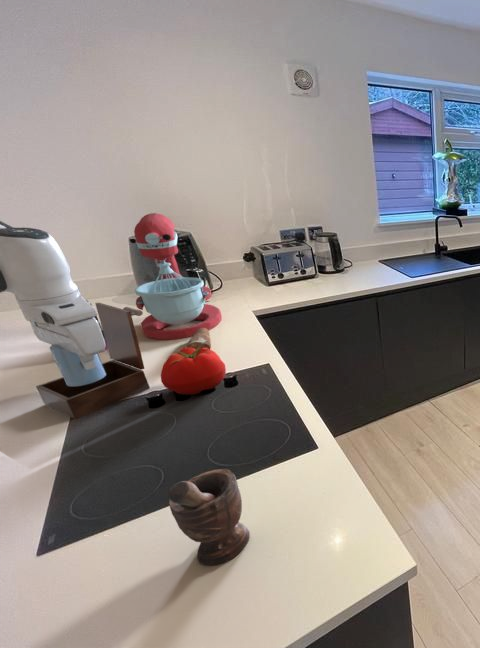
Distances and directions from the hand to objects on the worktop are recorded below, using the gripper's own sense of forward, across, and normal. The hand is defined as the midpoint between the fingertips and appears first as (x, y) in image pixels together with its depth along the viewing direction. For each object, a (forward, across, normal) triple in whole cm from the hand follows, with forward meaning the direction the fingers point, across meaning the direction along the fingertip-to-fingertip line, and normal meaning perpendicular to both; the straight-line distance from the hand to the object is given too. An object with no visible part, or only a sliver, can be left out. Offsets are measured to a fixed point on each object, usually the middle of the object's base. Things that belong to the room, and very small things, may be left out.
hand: (80, 364), depth 89 cm
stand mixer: (+18, -50, +46) cm, 70 cm away
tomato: (+18, +1, +20) cm, 27 cm away
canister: (+4, 0, 0) cm, 4 cm away
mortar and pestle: (+18, +57, -10) cm, 61 cm away
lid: (+2, -17, +14) cm, 22 cm away
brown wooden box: (+17, -17, +6) cm, 25 cm away
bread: (+18, -25, +36) cm, 47 cm away
